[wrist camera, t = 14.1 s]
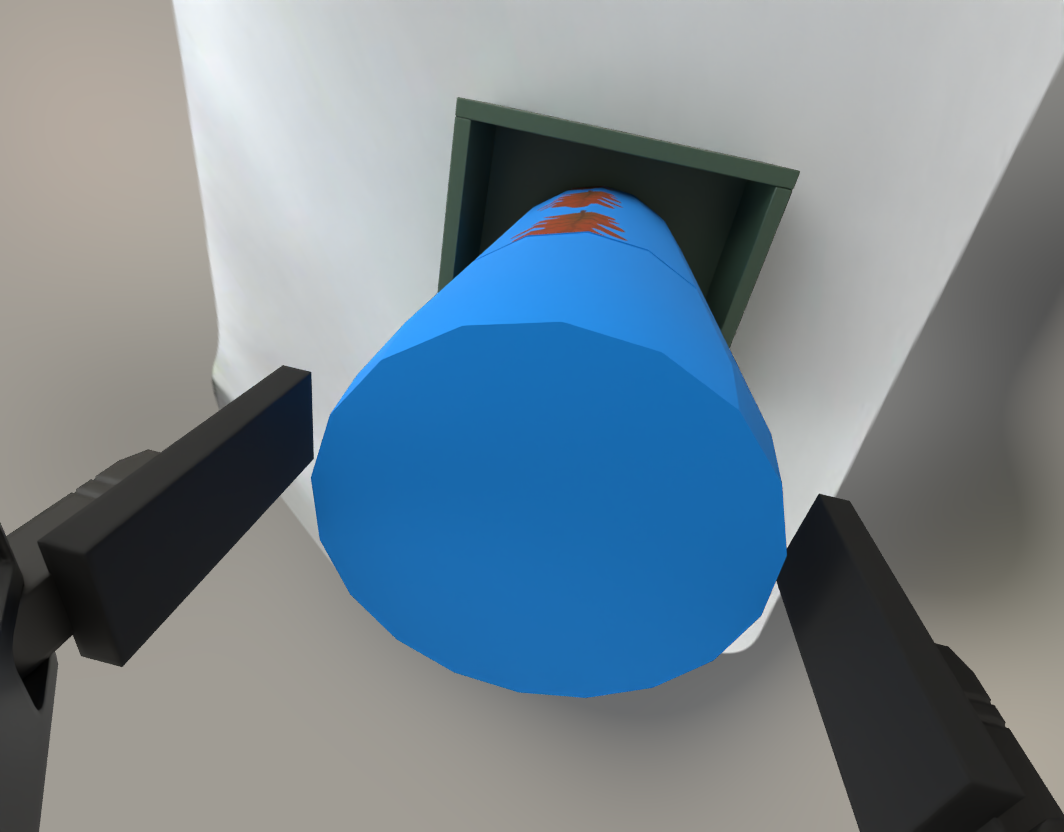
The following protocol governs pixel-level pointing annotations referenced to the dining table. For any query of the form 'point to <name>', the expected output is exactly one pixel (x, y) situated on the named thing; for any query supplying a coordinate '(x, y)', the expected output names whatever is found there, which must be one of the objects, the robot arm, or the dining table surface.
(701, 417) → the thermos
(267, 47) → the dining table surface
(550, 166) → the box
